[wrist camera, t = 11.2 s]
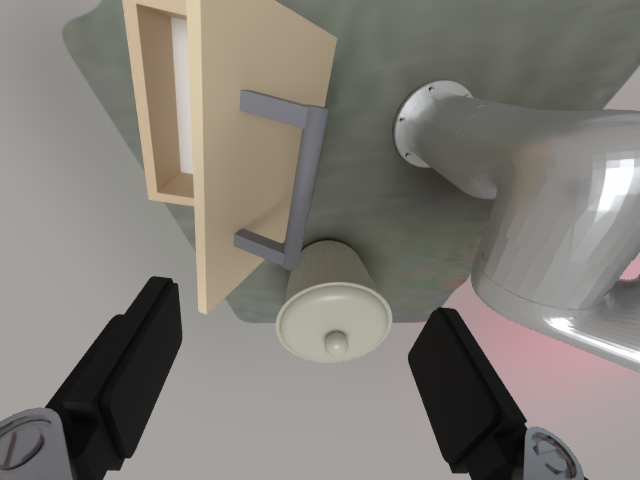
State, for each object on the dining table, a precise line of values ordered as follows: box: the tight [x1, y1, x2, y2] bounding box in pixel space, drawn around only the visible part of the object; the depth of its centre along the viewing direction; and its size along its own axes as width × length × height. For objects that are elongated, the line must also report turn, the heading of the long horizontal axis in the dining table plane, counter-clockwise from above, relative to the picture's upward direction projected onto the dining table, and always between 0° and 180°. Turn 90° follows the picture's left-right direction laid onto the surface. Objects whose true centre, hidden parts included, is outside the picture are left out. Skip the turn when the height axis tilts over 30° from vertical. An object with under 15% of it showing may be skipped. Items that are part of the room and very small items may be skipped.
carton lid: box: [186, 0, 337, 315], centre depth 25 cm, size 20×22×6 cm
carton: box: [122, 0, 194, 206], centre depth 37 cm, size 20×22×10 cm
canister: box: [275, 240, 392, 363], centre depth 48 cm, size 18×18×21 cm
